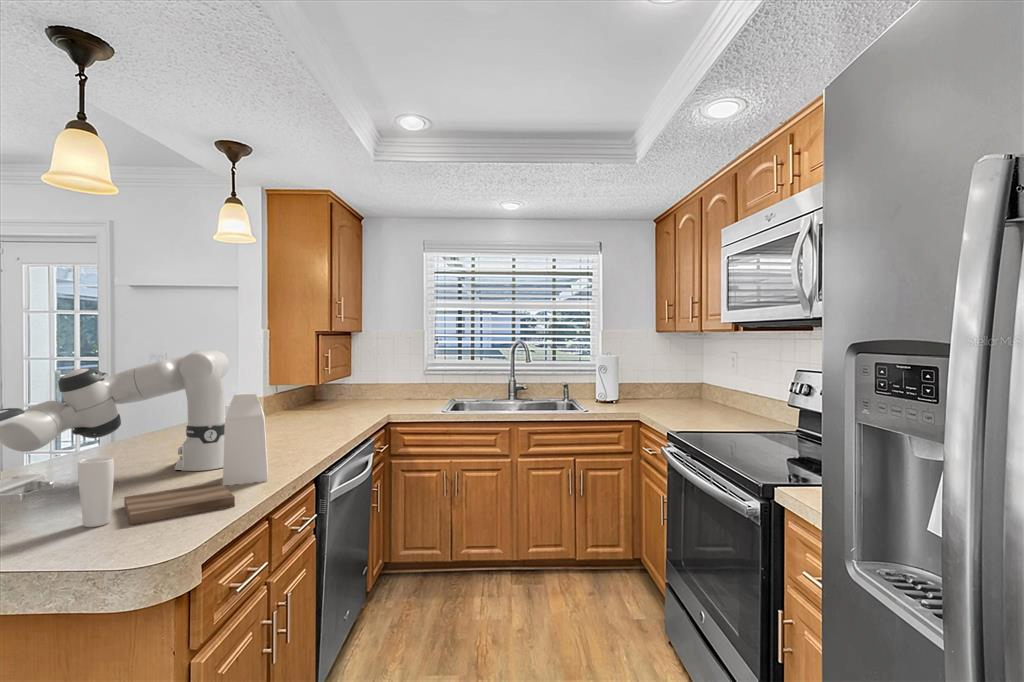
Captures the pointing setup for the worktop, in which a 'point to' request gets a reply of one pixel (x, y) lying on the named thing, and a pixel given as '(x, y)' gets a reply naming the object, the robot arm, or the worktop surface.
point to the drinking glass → (96, 490)
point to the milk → (245, 441)
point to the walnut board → (177, 502)
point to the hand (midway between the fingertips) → (38, 491)
